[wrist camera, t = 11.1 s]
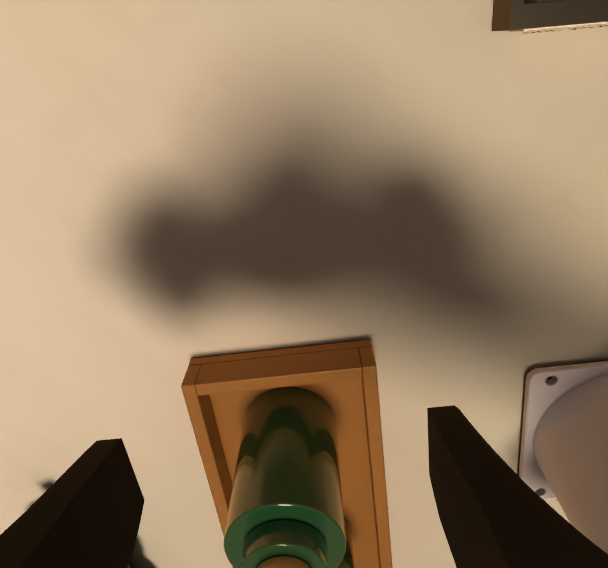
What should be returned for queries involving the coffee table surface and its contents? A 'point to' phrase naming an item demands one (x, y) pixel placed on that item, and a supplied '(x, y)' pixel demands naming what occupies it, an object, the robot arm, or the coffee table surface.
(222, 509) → the tray
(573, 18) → the figurine
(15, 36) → the coffee table surface
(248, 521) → the green bottle
